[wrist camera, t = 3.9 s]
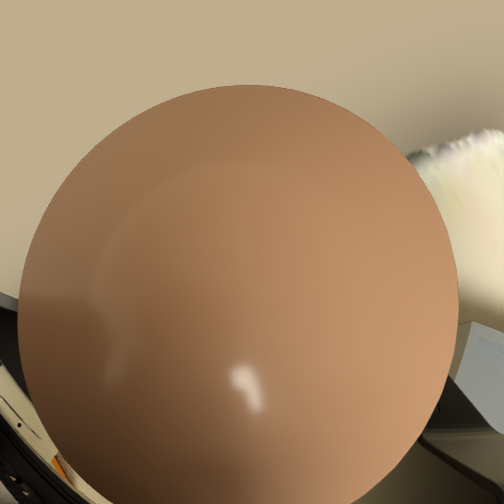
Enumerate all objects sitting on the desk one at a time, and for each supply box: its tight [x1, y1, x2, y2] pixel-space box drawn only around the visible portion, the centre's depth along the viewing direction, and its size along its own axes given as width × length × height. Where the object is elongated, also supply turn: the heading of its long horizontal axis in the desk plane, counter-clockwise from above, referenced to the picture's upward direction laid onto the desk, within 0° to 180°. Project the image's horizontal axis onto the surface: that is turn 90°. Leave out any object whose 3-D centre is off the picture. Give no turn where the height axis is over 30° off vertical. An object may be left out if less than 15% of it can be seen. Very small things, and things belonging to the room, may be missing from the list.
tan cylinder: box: [17, 85, 459, 504], centre depth 9 cm, size 6×6×13 cm
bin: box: [448, 321, 504, 434], centre depth 8 cm, size 11×11×2 cm
